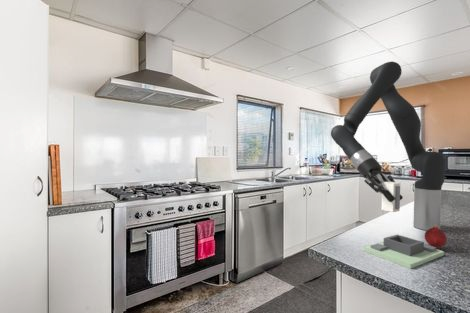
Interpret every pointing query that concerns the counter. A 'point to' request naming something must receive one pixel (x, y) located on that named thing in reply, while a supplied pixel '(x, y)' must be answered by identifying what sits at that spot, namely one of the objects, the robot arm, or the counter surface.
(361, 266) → the counter surface
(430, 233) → the onion
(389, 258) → the board
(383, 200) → the plug
